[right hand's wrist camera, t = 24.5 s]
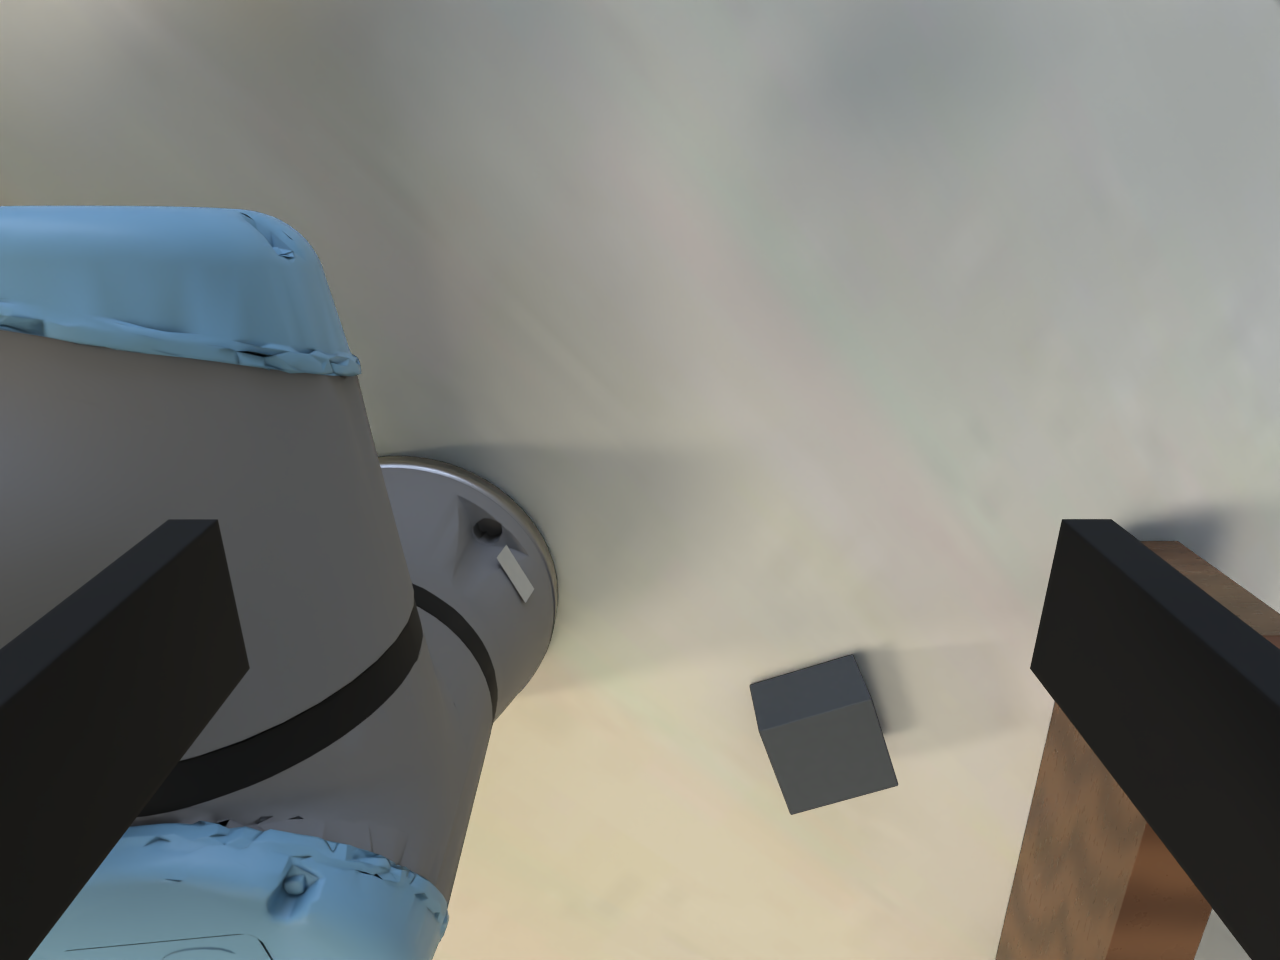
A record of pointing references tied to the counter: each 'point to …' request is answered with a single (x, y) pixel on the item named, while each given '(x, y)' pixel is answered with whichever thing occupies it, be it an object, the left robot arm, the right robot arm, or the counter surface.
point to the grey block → (822, 735)
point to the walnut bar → (1109, 839)
